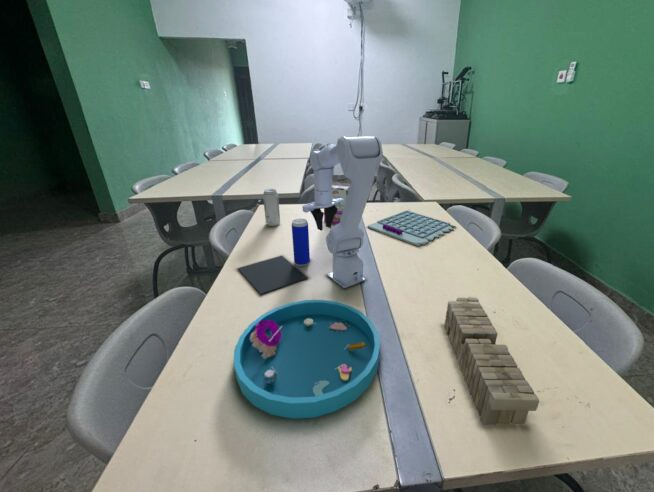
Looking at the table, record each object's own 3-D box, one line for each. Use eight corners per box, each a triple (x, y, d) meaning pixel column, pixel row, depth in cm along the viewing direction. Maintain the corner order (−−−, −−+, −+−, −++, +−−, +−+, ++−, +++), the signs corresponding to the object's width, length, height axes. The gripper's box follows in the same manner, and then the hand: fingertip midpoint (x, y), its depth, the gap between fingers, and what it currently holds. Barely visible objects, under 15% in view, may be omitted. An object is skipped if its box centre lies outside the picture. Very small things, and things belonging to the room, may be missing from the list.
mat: (308, 278, 97) (307, 277, 97) (260, 295, 88) (260, 293, 88) (281, 256, 110) (281, 255, 110) (238, 269, 101) (237, 268, 101)
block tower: (442, 325, 81) (483, 433, 54) (446, 297, 77) (492, 397, 50) (472, 325, 81) (529, 433, 54) (477, 297, 78) (541, 397, 51)
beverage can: (311, 259, 108) (309, 218, 102) (307, 267, 104) (305, 224, 98) (296, 258, 109) (294, 217, 103) (292, 265, 104) (289, 223, 98)
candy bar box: (351, 222, 142) (351, 186, 135) (347, 226, 138) (347, 189, 131) (328, 218, 145) (327, 183, 138) (323, 222, 140) (322, 186, 134)
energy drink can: (265, 222, 138) (261, 189, 132) (279, 220, 140) (276, 187, 134) (267, 227, 133) (263, 192, 127) (281, 225, 135) (278, 191, 129)
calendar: (456, 228, 140) (457, 223, 139) (420, 247, 120) (421, 241, 119) (406, 213, 157) (406, 208, 156) (367, 227, 137) (367, 222, 136)
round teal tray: (270, 307, 84) (268, 288, 81) (383, 318, 81) (384, 298, 79) (205, 407, 56) (199, 383, 54) (371, 429, 54) (373, 405, 51)
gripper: (334, 183, 109) (335, 220, 114) (297, 189, 100) (299, 229, 106) (347, 188, 104) (346, 226, 110) (308, 195, 95) (310, 236, 101)
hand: (324, 228), depth 107 cm, fingers open, 3 cm apart
